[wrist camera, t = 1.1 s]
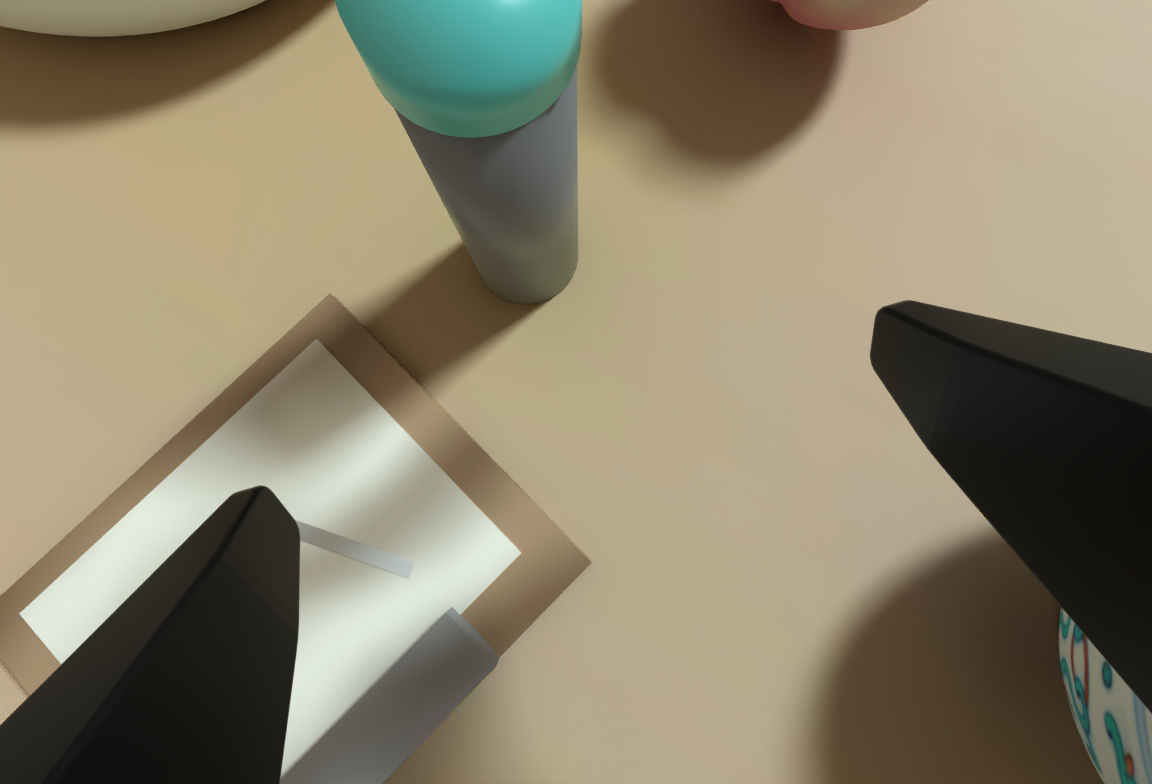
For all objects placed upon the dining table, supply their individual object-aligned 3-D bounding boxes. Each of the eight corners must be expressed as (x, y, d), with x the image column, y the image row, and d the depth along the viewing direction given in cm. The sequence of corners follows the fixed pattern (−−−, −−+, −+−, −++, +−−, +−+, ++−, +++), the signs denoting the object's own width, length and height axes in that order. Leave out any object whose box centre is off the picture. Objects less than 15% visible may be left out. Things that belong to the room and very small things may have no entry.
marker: (602, 254, 22) (633, -31, 10) (526, 328, 22) (451, 134, 9) (528, 183, 23) (461, -183, 10) (451, 254, 23) (280, -30, 10)
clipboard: (590, 560, 21) (591, 568, 19) (237, 923, 19) (207, 963, 18) (336, 298, 22) (317, 285, 21) (-12, 618, 21) (-61, 631, 19)
